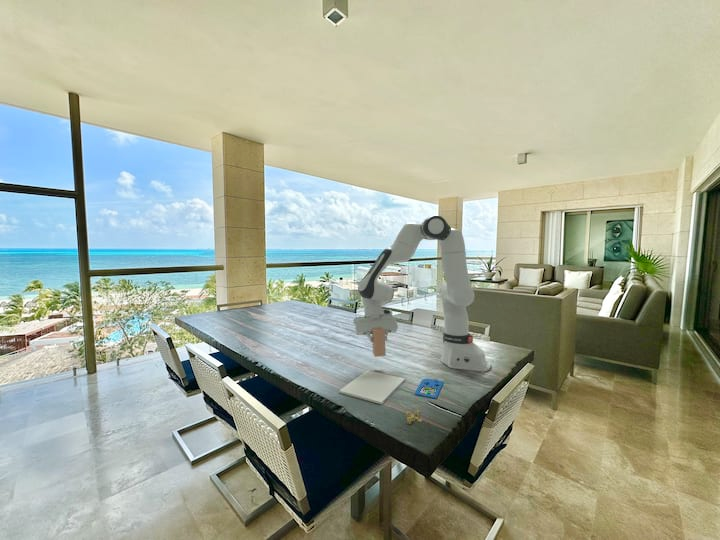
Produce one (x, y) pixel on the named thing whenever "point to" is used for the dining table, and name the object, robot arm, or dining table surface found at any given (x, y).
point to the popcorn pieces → (410, 418)
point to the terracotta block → (378, 341)
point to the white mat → (372, 386)
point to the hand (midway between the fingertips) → (378, 341)
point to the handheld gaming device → (429, 388)
